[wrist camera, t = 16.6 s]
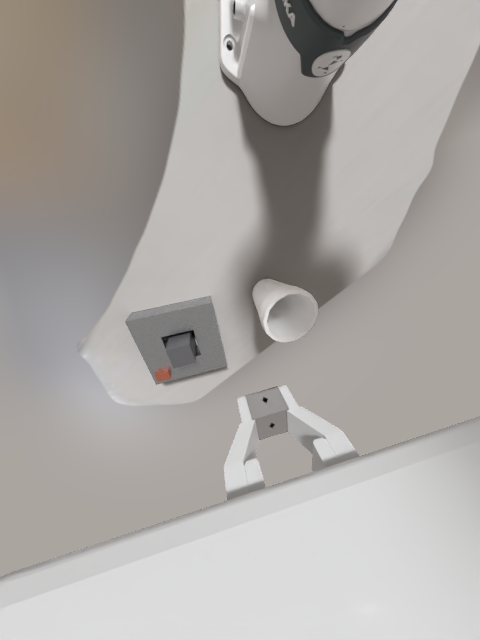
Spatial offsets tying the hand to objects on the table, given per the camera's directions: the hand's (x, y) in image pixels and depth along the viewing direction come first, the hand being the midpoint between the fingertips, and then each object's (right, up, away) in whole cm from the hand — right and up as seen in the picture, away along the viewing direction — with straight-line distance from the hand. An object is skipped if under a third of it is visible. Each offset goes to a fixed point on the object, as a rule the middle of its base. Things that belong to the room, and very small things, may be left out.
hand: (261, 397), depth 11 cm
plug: (-14, +1, +32) cm, 35 cm away
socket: (-14, +1, +32) cm, 35 cm away
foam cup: (+4, +11, +31) cm, 33 cm away
